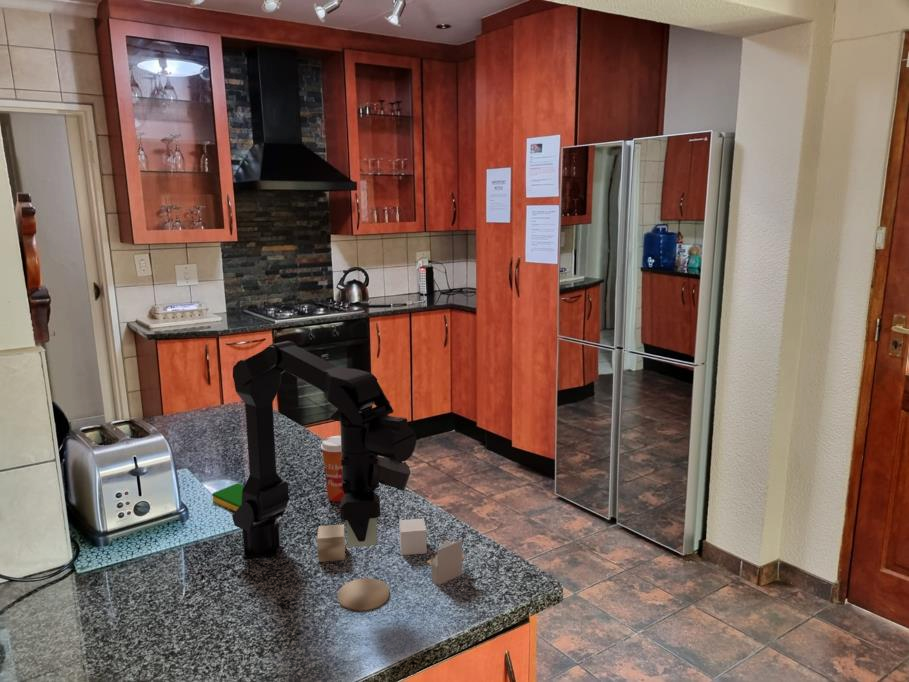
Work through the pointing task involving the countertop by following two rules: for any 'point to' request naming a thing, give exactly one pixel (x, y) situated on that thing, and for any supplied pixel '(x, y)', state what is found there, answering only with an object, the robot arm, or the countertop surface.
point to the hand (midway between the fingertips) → (361, 533)
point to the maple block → (331, 543)
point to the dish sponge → (229, 496)
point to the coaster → (363, 594)
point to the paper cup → (333, 467)
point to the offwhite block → (412, 536)
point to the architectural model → (447, 562)
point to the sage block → (370, 536)
